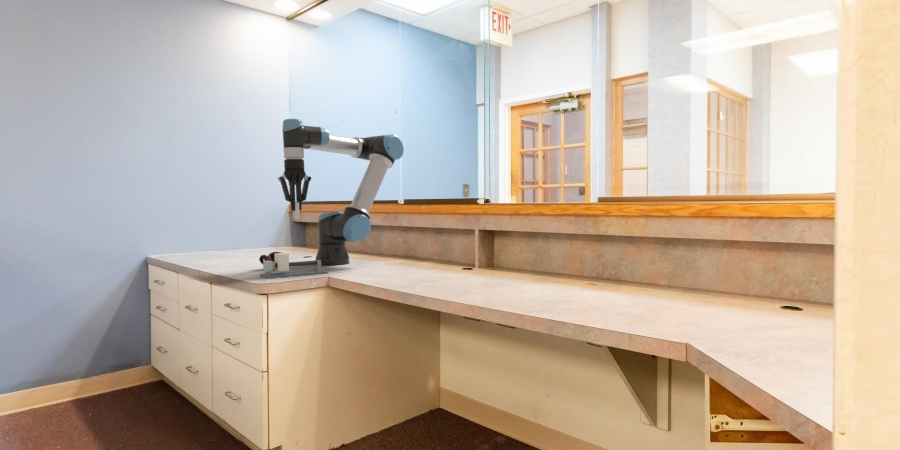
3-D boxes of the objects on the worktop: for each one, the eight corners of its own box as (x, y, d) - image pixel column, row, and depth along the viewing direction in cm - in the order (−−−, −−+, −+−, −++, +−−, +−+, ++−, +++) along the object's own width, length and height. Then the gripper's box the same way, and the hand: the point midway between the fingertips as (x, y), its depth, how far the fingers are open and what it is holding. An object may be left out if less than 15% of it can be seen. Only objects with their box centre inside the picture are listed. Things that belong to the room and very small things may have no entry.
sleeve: (285, 269, 196) (285, 252, 196) (289, 270, 192) (288, 253, 192) (274, 270, 194) (274, 253, 194) (278, 271, 190) (278, 254, 190)
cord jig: (318, 270, 207) (318, 256, 206) (327, 273, 199) (327, 258, 198) (259, 275, 193) (259, 260, 193) (267, 278, 185) (267, 262, 185)
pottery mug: (289, 268, 219) (291, 252, 215) (282, 281, 211) (284, 265, 207) (261, 261, 218) (263, 245, 214) (253, 274, 210) (254, 257, 206)
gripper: (306, 160, 208) (308, 217, 209) (274, 159, 200) (277, 219, 201) (313, 158, 202) (316, 218, 203) (281, 158, 194) (283, 220, 195)
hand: (296, 218), depth 202 cm, fingers closed
